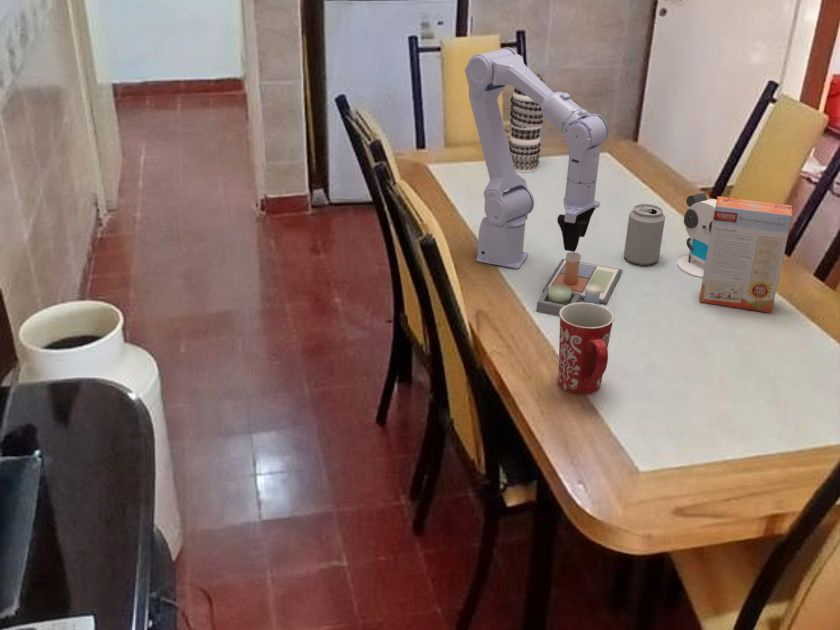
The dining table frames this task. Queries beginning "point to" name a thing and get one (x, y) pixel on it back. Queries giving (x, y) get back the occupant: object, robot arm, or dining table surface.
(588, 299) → the slate blue marker
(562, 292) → the button
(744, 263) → the cracker box
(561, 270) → the colour zone board
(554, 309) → the button collar
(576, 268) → the terracotta marker
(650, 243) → the can
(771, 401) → the dining table surface
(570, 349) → the mug
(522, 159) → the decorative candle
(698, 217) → the panda figurine
